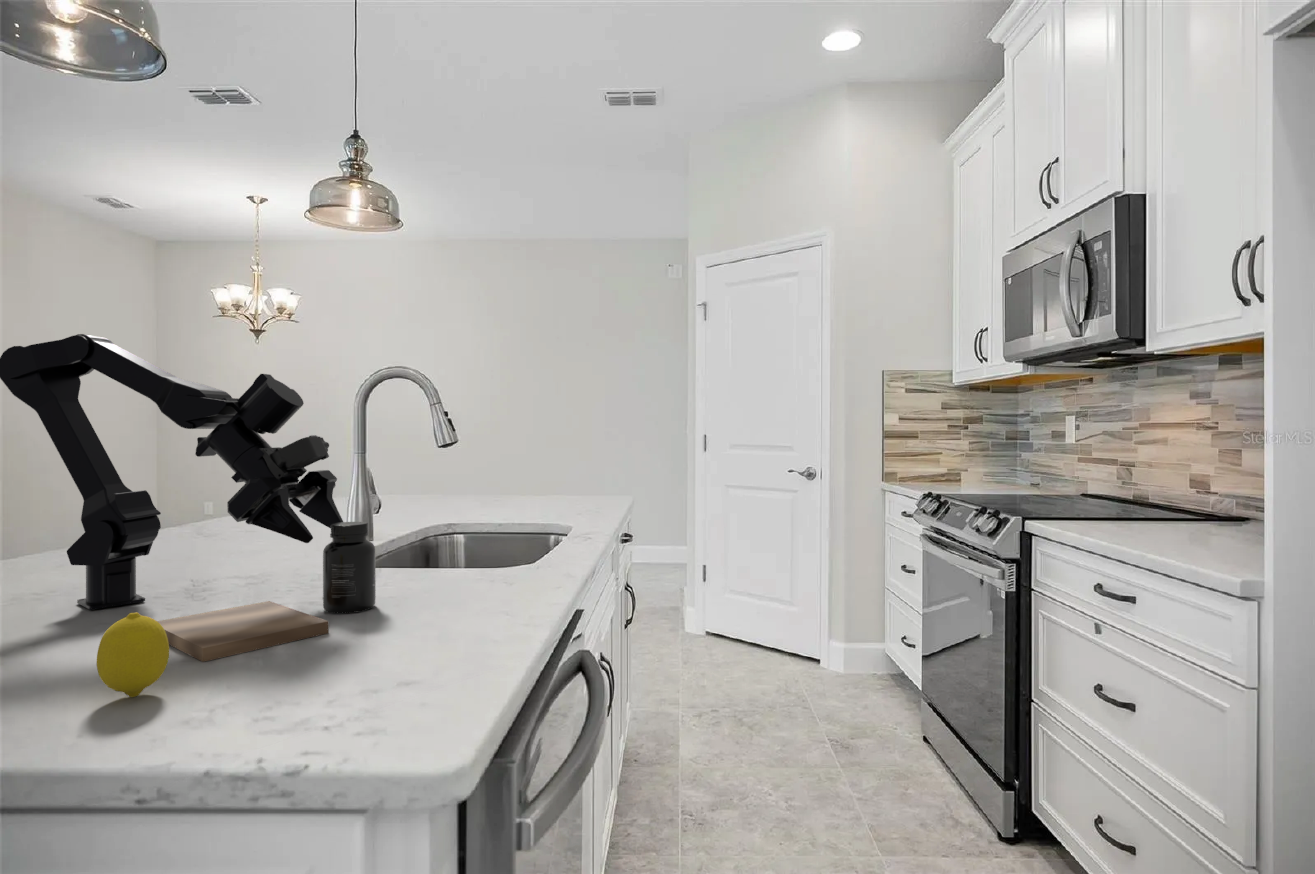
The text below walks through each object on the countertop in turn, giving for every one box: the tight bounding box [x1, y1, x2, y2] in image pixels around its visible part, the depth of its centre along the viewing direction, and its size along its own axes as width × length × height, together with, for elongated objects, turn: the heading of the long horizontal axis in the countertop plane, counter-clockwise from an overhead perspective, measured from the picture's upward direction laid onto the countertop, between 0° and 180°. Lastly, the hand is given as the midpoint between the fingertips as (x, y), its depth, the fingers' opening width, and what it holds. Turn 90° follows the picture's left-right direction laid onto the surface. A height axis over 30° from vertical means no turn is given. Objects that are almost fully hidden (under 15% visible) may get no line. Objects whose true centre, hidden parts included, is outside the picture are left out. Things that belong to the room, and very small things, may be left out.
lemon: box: [96, 611, 170, 698], centre depth 68 cm, size 6×6×8 cm
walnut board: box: [156, 600, 330, 663], centre depth 88 cm, size 16×14×2 cm
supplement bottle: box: [322, 521, 377, 614], centre depth 101 cm, size 7×7×12 cm
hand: (327, 535), depth 101 cm, fingers open, 9 cm apart
